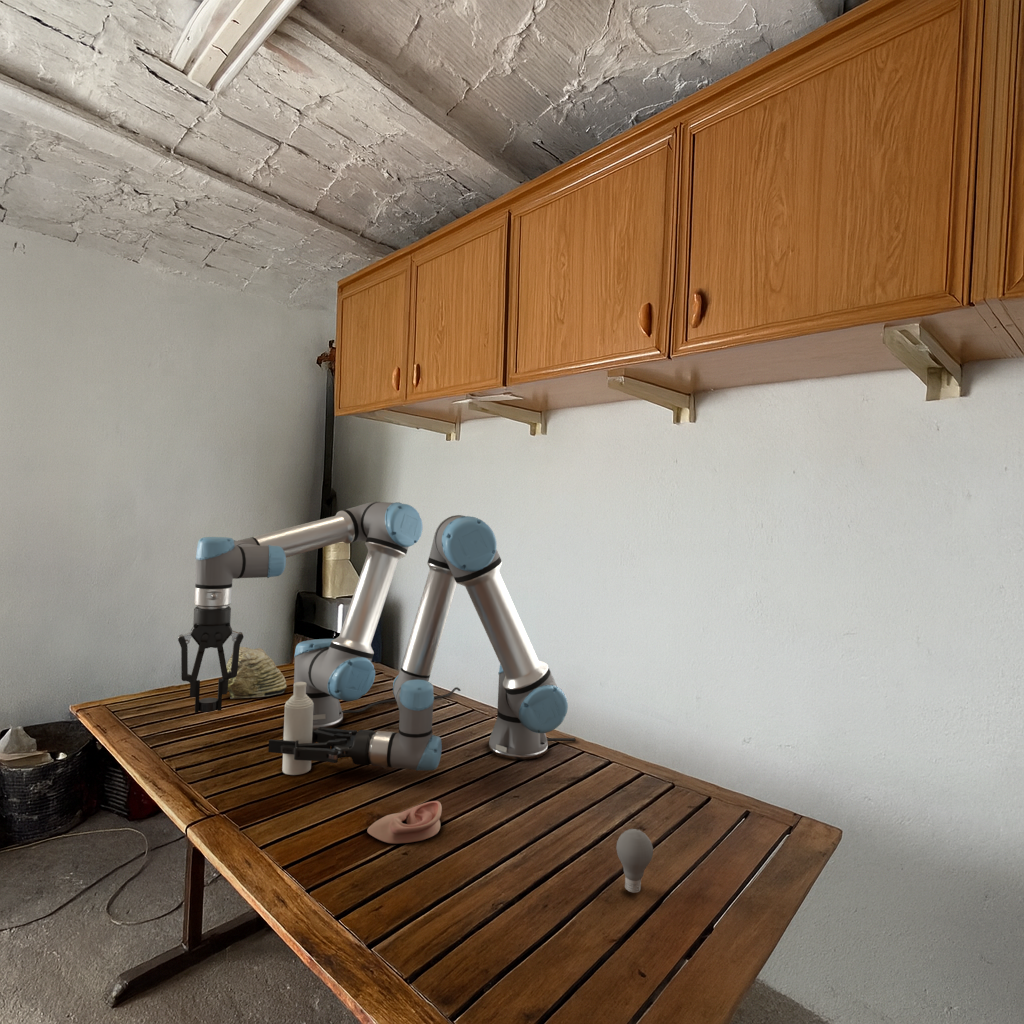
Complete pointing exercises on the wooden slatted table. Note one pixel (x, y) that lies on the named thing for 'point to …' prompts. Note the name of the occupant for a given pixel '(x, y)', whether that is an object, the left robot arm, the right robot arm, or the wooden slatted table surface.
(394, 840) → the anatomical model
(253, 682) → the fossil
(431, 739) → the right robot arm
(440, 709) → the wooden slatted table surface
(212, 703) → the cap
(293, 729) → the bottle
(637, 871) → the light bulb
